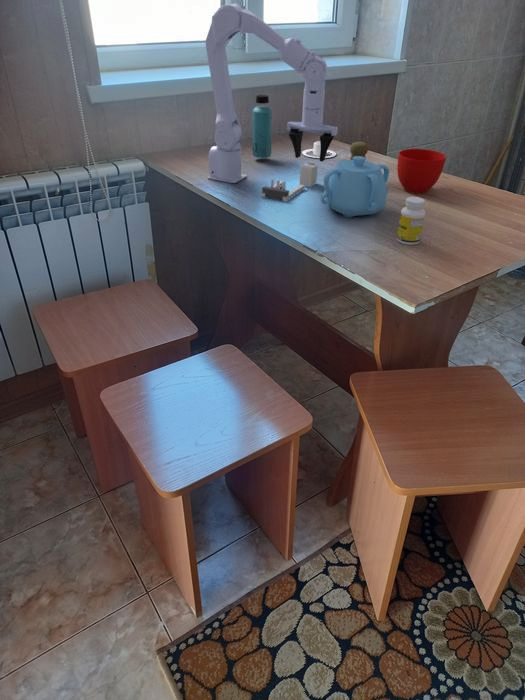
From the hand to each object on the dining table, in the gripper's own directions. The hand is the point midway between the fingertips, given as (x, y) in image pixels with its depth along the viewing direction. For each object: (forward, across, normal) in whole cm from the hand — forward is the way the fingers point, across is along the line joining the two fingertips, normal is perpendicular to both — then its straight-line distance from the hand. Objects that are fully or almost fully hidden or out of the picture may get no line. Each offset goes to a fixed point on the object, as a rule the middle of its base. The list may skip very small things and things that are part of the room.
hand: (309, 158), depth 148 cm
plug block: (+7, 0, 0) cm, 7 cm away
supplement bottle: (+8, -37, +27) cm, 46 cm away
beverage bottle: (+8, +24, -16) cm, 30 cm away
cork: (+8, -11, -11) cm, 17 cm away
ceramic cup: (+8, -30, -13) cm, 34 cm away
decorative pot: (+8, -19, +14) cm, 25 cm away
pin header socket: (+7, +3, +12) cm, 14 cm away
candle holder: (+8, +10, -33) cm, 35 cm away
